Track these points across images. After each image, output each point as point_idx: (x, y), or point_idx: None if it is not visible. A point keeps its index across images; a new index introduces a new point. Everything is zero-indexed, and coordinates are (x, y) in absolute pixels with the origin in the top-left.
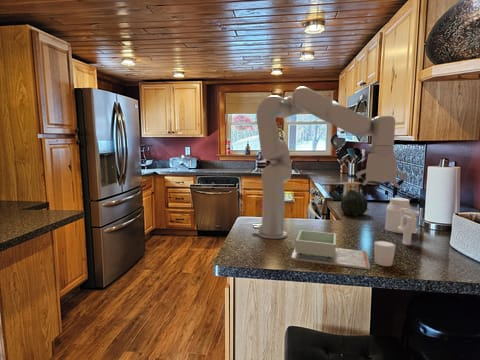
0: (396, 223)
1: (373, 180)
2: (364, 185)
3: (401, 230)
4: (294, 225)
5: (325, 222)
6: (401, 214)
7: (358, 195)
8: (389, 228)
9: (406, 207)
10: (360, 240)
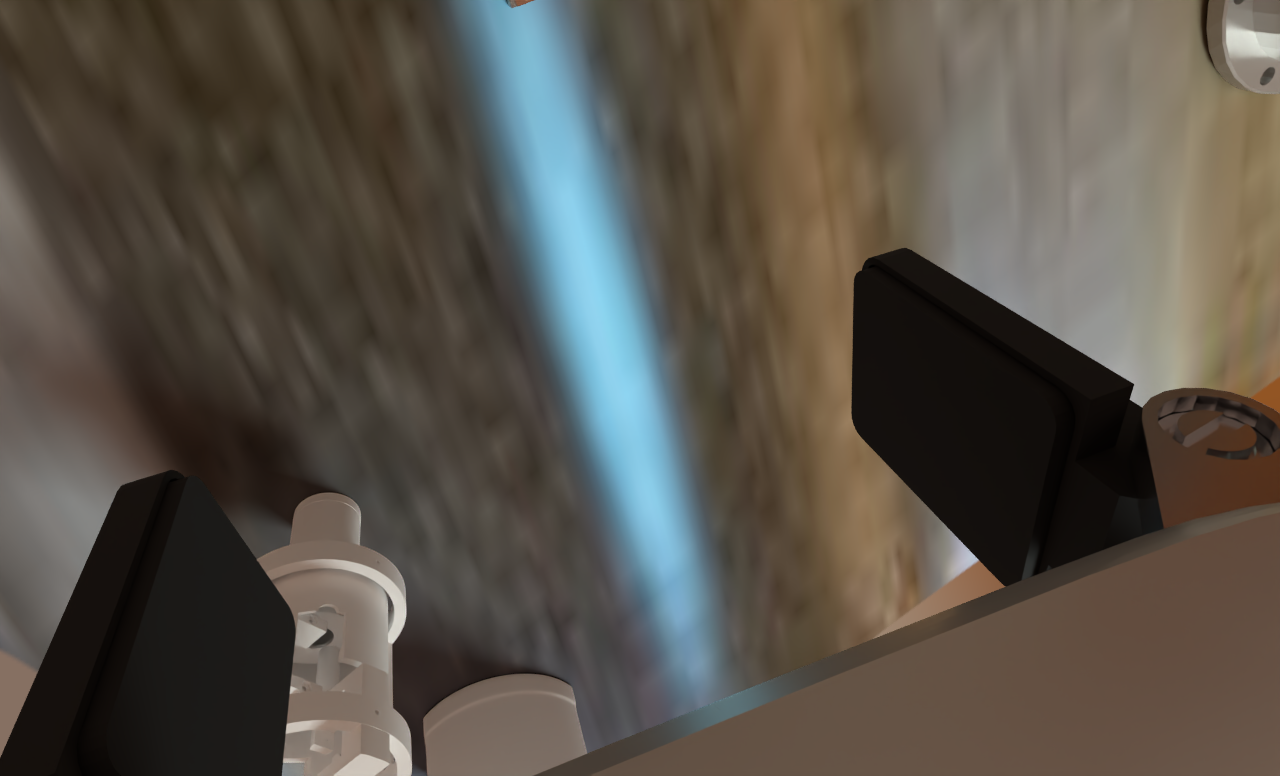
0: (498, 739)
1: (1094, 572)
2: (1126, 436)
3: (353, 551)
4: (1135, 332)
5: (941, 538)
6: (366, 690)
7: None
8: (538, 689)
9: None
10: (651, 341)
